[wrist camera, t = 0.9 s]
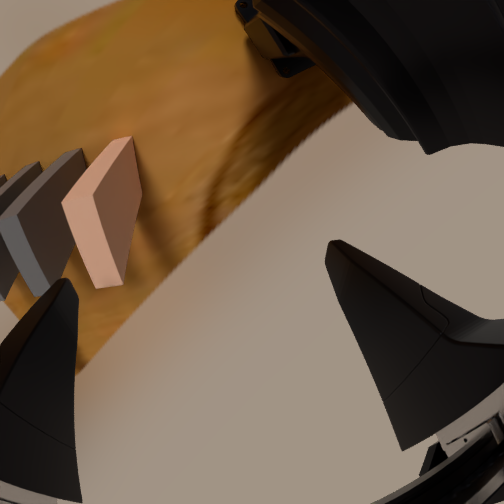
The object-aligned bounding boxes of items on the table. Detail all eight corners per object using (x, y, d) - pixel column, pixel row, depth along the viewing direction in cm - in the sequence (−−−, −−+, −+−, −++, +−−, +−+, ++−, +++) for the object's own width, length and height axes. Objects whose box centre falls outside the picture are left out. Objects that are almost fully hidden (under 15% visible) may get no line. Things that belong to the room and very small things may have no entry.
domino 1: (38, 161, 15) (-33, 231, 7) (54, 212, 17) (4, 300, 10) (25, 165, 15) (-46, 237, 7) (41, 216, 17) (-10, 302, 10)
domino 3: (131, 135, 16) (92, 194, 9) (142, 193, 19) (123, 284, 11) (112, 140, 16) (61, 202, 8) (124, 197, 19) (95, 288, 11)
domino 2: (81, 148, 15) (16, 214, 8) (95, 203, 18) (54, 293, 11) (65, 152, 15) (-5, 221, 8) (79, 206, 18) (34, 296, 10)
